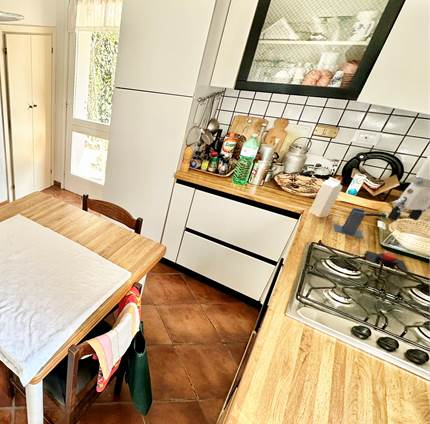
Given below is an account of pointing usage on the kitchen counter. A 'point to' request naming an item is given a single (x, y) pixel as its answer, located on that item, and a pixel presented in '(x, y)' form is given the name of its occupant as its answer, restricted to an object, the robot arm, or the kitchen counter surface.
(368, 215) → the lever
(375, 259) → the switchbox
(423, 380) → the kitchen counter surface
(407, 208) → the robot arm
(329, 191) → the milk
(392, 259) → the button
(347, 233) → the bracket
